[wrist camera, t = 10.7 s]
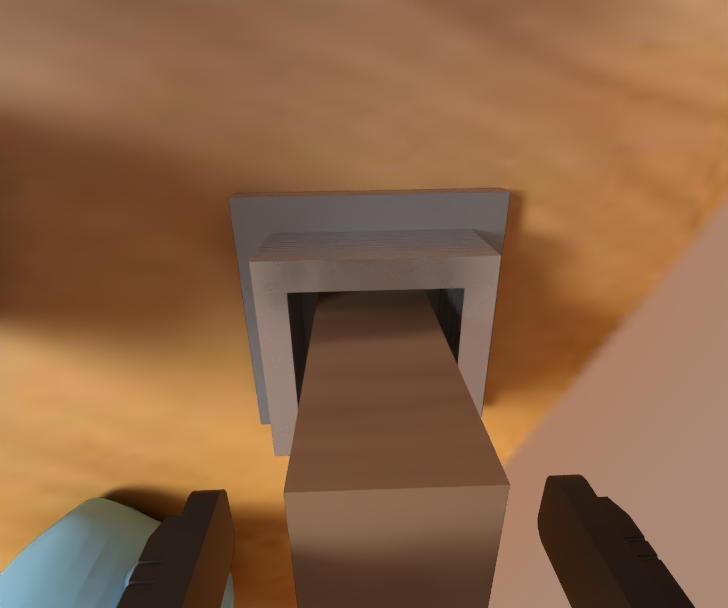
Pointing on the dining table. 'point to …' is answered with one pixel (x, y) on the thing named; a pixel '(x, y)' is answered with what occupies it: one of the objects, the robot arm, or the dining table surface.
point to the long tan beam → (390, 463)
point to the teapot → (83, 560)
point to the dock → (363, 274)
